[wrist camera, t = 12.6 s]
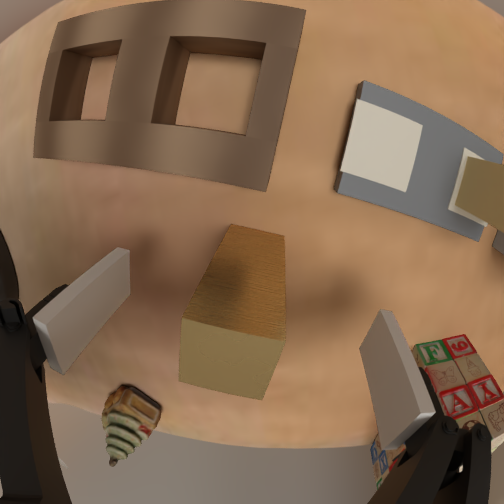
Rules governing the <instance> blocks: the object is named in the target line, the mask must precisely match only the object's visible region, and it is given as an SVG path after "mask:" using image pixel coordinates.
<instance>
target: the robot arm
mask: <svg viewBox="0 0 504 504" xmlns="http://www.w3.org/2000/svg"><path fill="white" fill-rule="evenodd" d="M129 295H130V250H127V249H123V248H120V247H117V248H116V249H114V250H113V251H112V252H110V253H109V254H108V255H106V256H105V257H104V258H102V259H101V260H100V261H99V262H97V263H96V264H95V265H94V266H92V267H91V268H90V269H88V270H87V271H86V272H85V273H83V274H82V275H81V276H80V277H79V278H77V279H76V280H75V281H74V282H73V283H71V284H70V285H66V284H65V285H62V286H60V287H58V288H56V289H55V290H53V291H52V292H51V293H50V294H49V296H48V295H47V296H46V297H45V298H44V299H43V300H41V301H40V302H39V303H38V304H37V305H36V306H35V307H33V308H32V309H31V310H30V311H29V312H28V313H27V314H24V310H23V307H22V304H21V302H20V301H19V300H18V286H17V280H16V275H15V271H14V267H13V264H12V260H11V257H10V254H9V252H8V249H7V246H6V244H5V241H4V239H3V237H2V235H1V233H0V479H1V484H2V489H3V496H2V497H1V498H0V504H72V502H71V500H70V496H69V494H68V491H67V488H66V484H65V481H64V478H63V475H62V471H61V468H60V464H59V460H58V456H57V452H56V448H55V443H54V438H53V433H52V428H51V422H50V416H49V409H48V402H47V393H46V383H45V369H44V365H43V362H44V361H45V360H46V359H47V360H48V363H49V365H50V367H51V368H52V369H54V370H55V371H57V372H59V373H61V374H62V375H64V374H65V373H66V372H67V370H68V369H69V368H70V366H71V365H72V364H73V363H74V361H75V360H76V359H77V357H78V356H79V355H80V354H81V352H82V351H83V350H84V349H85V347H86V346H87V345H88V344H89V343H90V341H91V340H92V339H93V338H94V336H95V335H96V334H97V333H98V332H99V330H100V329H101V328H102V327H103V326H104V324H105V323H106V322H107V321H108V320H109V319H110V317H111V316H112V315H113V314H114V313H115V312H116V310H117V309H118V308H119V307H120V306H121V305H122V303H123V302H124V301H125V300H126V299H127V298H128V297H129ZM359 349H360V353H361V357H362V361H363V365H364V369H365V373H366V377H367V381H368V385H369V389H370V394H371V398H372V403H373V407H374V412H375V417H376V422H377V427H378V432H379V438H380V443H381V449H382V450H393V449H397V448H398V447H400V446H401V445H402V444H403V443H404V442H405V445H406V449H404V450H403V451H402V452H401V453H400V454H398V455H397V456H396V457H395V458H394V459H393V460H392V461H393V462H394V461H395V460H396V459H397V461H396V463H395V464H394V466H393V468H392V469H391V471H390V472H389V474H388V475H387V477H386V478H385V480H384V481H383V483H382V484H381V486H380V487H379V489H378V490H377V491H376V493H375V494H374V496H373V497H372V498H371V500H370V501H369V502H368V504H488V499H489V490H490V478H491V434H490V432H489V429H488V428H487V427H486V426H485V425H483V424H481V423H477V424H475V425H474V426H473V427H472V428H471V429H470V430H467V429H462V428H459V425H458V423H457V422H456V420H454V419H453V418H452V417H450V416H445V415H444V412H443V410H442V407H441V405H440V402H439V400H438V397H437V395H436V392H434V391H435V390H434V387H433V385H432V382H431V380H430V378H429V376H428V374H427V373H426V372H425V370H424V369H423V368H422V367H418V366H417V364H416V361H415V359H414V357H413V355H412V352H411V350H410V348H409V346H408V344H407V341H406V339H405V337H404V335H403V333H402V331H401V329H400V327H399V325H398V322H397V320H396V318H395V316H394V314H393V312H392V311H387V310H382V309H380V310H379V312H378V314H377V316H376V318H375V320H374V322H373V324H372V326H371V328H370V329H369V331H368V333H367V335H366V337H365V339H364V341H363V342H362V344H361V346H360V348H359ZM462 465H463V468H462V471H461V472H459V468H460V467H461V466H462Z"/></svg>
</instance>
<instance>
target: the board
mask: <svg viewBox="0 0 504 504" xmlns="http://www.w3.org/2000/svg"><path fill="white" fill-rule="evenodd" d="M503 155H504V154H502V153H501V152H500V151H498V150H497V149H496V148H494V147H493V146H491V145H490V144H489V143H487V142H486V141H484V140H483V139H481V138H480V137H478V136H477V135H475V134H473V133H472V132H470V131H469V130H467V129H465V128H464V127H462V126H460V125H459V124H457V123H455V122H454V121H452V120H450V119H448V118H446V117H445V116H443V115H441V114H439V113H437V112H435V111H433V110H431V109H430V108H428V107H426V106H424V105H421V104H419V103H417V102H415V101H413V100H411V99H409V98H407V97H404V96H402V95H400V94H397V93H395V92H393V91H390V90H388V89H385V88H383V87H380V86H378V85H375V84H372V83H370V82H367V81H362V82H361V83H359V84H358V89H357V94H356V99H355V104H354V108H353V113H352V117H351V122H350V126H349V131H348V135H347V139H346V143H345V147H344V151H343V155H342V159H341V163H340V167H339V171H338V175H337V179H336V182H335V186H334V190H335V191H336V192H337V193H339V194H343V195H346V196H350V197H353V198H357V199H360V200H363V201H367V202H370V203H373V204H376V205H379V206H383V207H386V208H389V209H392V210H395V211H398V212H401V213H404V214H407V215H410V216H412V217H415V218H418V219H421V220H424V221H427V222H429V223H432V224H435V225H437V226H440V227H443V228H445V229H448V230H450V231H453V232H455V233H458V234H460V235H463V236H465V237H468V238H470V239H473V240H475V241H477V242H479V239H480V237H481V234H482V231H483V229H484V226H485V227H487V225H488V224H490V225H491V226H493V227H495V228H496V229H498V230H500V231H501V232H503V233H504V165H502V160H503Z"/></svg>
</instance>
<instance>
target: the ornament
mask: <svg viewBox="0 0 504 504" xmlns="http://www.w3.org/2000/svg"><path fill="white" fill-rule="evenodd" d="M160 418H161V409H160V406H159V405H158V404H157V403H156V402H154V401H153V400H151V399H150V398H148V397H147V396H145V395H144V394H143V393H141V392H140V391H138V390H137V389H135V388H134V387H131V388H127V387H124V386H122V387H120V388H119V389H118V390H117V392H116V393H113V394H111V395H110V396H109V397H108V399H107V401H106V402H105V408H104V410H103V412H102V424H103V428H104V430H105V432H106V443H107V444H108V445H107V447H106V451H107V452H108V454H109V455H110V461H109V464H110V466H111V467H113V466H115V465H116V464H117V461H118V460H120V459H127V457H128V454H131V453H134V448H135V447H139V446H141V444H142V443H141V440H147V439H148V438H149V436H150V434H151V433H152V431H153V429H155V428H156V427H157V424H158V422H159V420H160Z"/></svg>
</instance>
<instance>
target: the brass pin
mask: <svg viewBox="0 0 504 504" xmlns="http://www.w3.org/2000/svg"><path fill="white" fill-rule="evenodd" d="M285 342H286V297H285V240H284V236H282V235H278V234H273V233H269V232H264V231H260V230H256V229H251V228H247V227H242V226H238V225H233V224H231V226H230V227H229V229H228V231H227V233H226V235H225V237H224V238H223V240H222V242H221V244H220V246H219V248H218V249H217V251H216V253H215V255H214V257H213V259H212V261H211V263H210V264H209V266H208V268H207V270H206V272H205V274H204V276H203V278H202V280H201V281H200V283H199V285H198V287H197V289H196V291H195V293H194V295H193V297H192V299H191V301H190V303H189V305H188V307H187V308H186V310H185V312H184V314H183V316H182V322H181V338H180V357H179V381H180V382H184V383H188V384H191V385H195V386H199V387H203V388H206V389H210V390H215V391H219V392H223V393H228V394H232V395H237V396H242V397H247V398H252V399H258V400H262V399H263V397H264V394H265V392H266V389H267V387H268V385H269V382H270V380H271V377H272V375H273V372H274V370H275V367H276V365H277V362H278V360H279V357H280V355H281V352H282V350H283V347H284V344H285Z"/></svg>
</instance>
